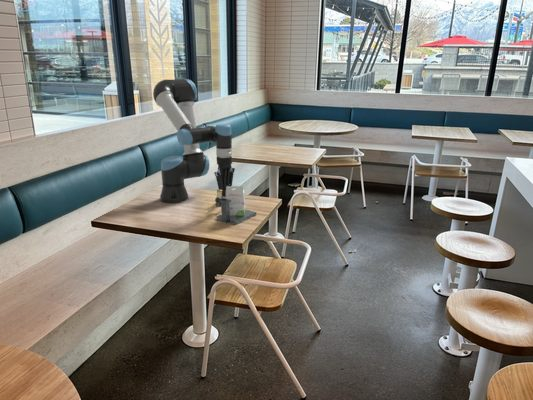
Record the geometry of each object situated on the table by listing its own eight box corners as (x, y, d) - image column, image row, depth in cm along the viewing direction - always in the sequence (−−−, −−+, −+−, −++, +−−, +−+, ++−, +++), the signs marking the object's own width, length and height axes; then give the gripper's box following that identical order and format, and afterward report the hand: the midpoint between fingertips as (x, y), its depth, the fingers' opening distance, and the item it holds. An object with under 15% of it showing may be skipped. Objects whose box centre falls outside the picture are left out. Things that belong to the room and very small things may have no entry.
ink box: (245, 212, 199) (245, 183, 194) (244, 216, 194) (243, 186, 189) (228, 212, 200) (227, 183, 195) (226, 215, 195) (225, 186, 190)
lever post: (212, 204, 215) (212, 194, 213) (220, 201, 219) (220, 192, 218) (221, 207, 211) (221, 196, 210) (228, 204, 216) (228, 194, 214)
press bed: (214, 220, 193) (213, 198, 189) (237, 210, 207) (237, 189, 203) (233, 225, 186) (232, 203, 183) (256, 214, 200) (256, 193, 197)
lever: (217, 193, 215) (217, 188, 214) (224, 193, 215) (224, 188, 214) (214, 203, 199) (213, 198, 198) (221, 203, 199) (221, 198, 198)
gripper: (221, 159, 191) (222, 206, 198) (238, 155, 201) (239, 200, 208) (209, 157, 195) (211, 203, 203) (227, 153, 205) (228, 197, 213)
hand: (225, 201), depth 205 cm, fingers closed
